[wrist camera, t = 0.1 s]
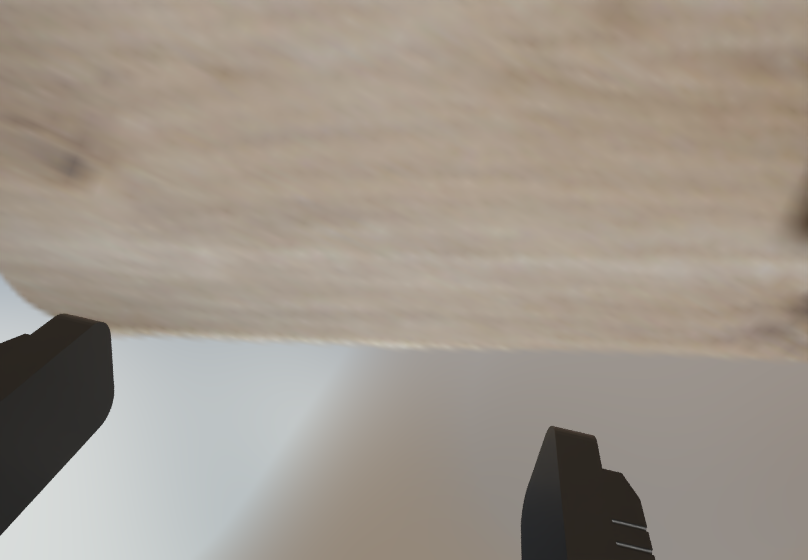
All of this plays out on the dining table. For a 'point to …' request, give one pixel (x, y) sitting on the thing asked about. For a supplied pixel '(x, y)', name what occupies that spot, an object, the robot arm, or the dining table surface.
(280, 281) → the dining table surface
